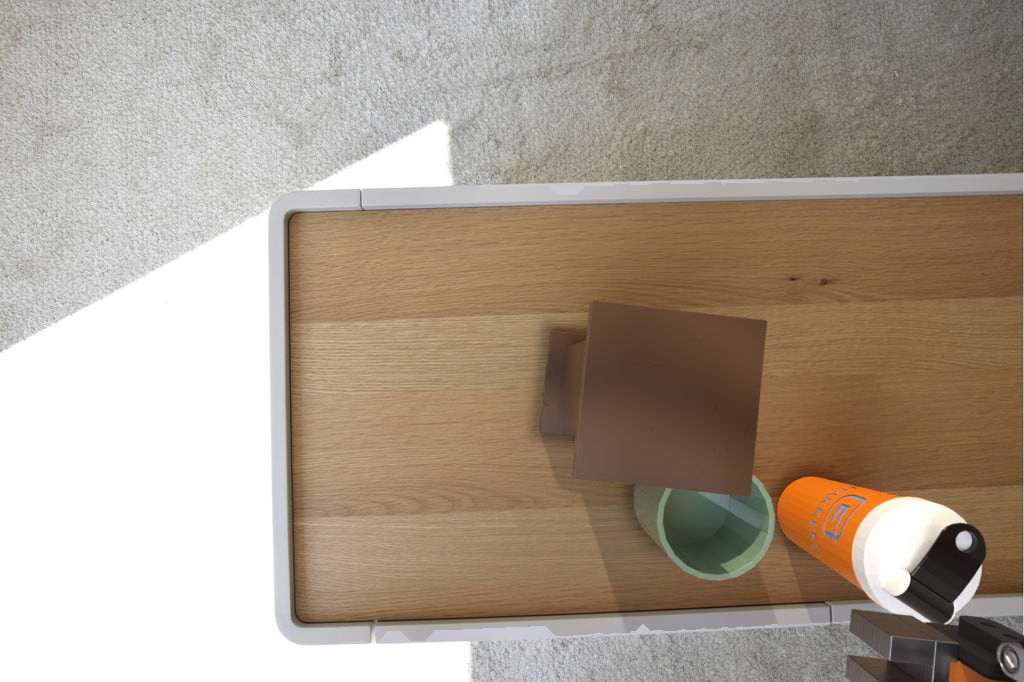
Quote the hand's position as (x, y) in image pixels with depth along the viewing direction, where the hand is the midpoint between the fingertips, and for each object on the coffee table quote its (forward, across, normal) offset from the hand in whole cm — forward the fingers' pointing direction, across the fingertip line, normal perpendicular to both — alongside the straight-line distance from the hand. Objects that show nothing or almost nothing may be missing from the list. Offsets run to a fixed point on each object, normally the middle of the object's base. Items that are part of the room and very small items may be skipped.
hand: (955, 660), depth 28 cm
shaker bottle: (+37, 0, +12) cm, 39 cm away
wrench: (+1, 0, -1) cm, 1 cm away
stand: (+37, -10, -11) cm, 40 cm away
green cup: (+37, 0, -1) cm, 37 cm away
